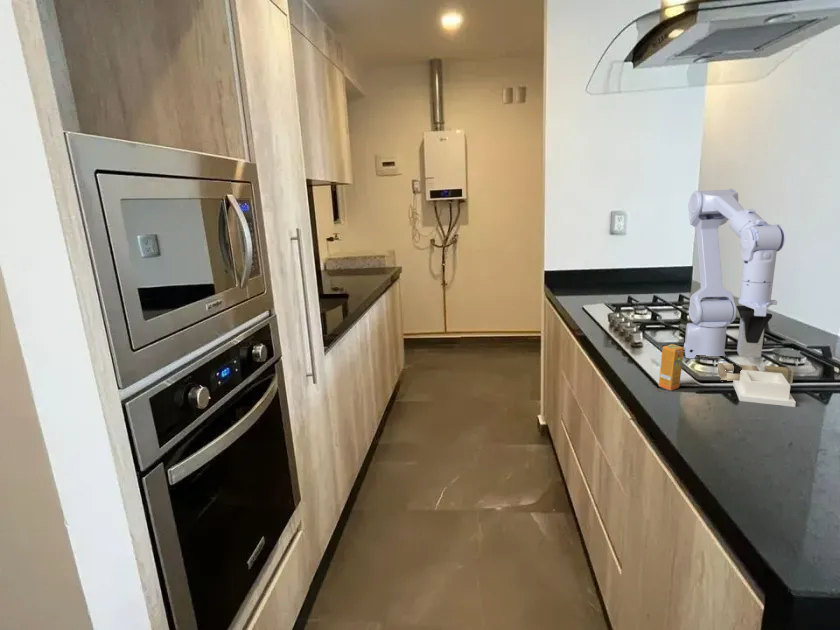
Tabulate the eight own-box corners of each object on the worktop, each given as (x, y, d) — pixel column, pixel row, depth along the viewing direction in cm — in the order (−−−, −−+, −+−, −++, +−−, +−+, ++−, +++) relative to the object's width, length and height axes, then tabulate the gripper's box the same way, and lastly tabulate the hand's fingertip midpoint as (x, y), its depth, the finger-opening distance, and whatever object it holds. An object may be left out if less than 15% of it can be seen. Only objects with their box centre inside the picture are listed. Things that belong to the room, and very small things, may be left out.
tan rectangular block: (765, 381, 111) (767, 369, 110) (763, 377, 113) (764, 365, 113) (792, 383, 109) (793, 371, 108) (789, 380, 111) (791, 367, 110)
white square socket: (739, 401, 102) (741, 383, 101) (732, 384, 111) (734, 367, 110) (795, 407, 98) (797, 388, 97) (783, 389, 107) (786, 372, 106)
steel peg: (739, 355, 109) (743, 321, 107) (736, 350, 112) (740, 317, 110) (760, 357, 107) (764, 323, 105) (757, 352, 111) (761, 318, 109)
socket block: (721, 381, 113) (721, 373, 112) (717, 370, 120) (717, 362, 119) (762, 385, 109) (763, 377, 109) (755, 373, 116) (756, 365, 116)
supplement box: (671, 391, 109) (674, 349, 107) (658, 386, 112) (660, 345, 110) (681, 388, 110) (684, 346, 108) (667, 383, 113) (670, 343, 111)
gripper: (787, 287, 98) (779, 350, 101) (771, 275, 110) (764, 332, 114) (746, 286, 101) (739, 347, 104) (735, 275, 113) (729, 330, 117)
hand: (750, 339), depth 109 cm, fingers closed on steel peg, 4 cm apart
